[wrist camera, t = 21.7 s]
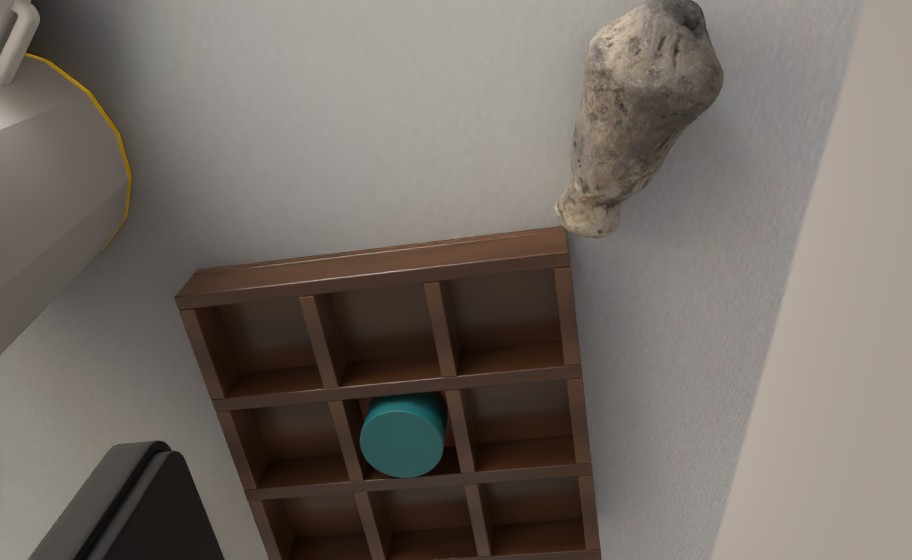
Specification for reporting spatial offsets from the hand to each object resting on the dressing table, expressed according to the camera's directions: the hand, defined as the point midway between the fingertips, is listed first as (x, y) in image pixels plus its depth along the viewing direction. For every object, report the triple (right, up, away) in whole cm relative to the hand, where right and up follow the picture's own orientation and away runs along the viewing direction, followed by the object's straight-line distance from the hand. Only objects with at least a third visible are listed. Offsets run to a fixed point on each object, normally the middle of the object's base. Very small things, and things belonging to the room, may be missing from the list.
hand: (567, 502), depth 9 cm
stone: (+7, +10, +26) cm, 29 cm away
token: (-4, -5, +33) cm, 34 cm away
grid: (-4, -4, +34) cm, 35 cm away
